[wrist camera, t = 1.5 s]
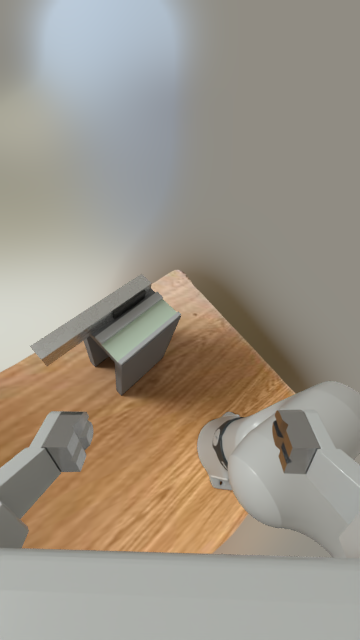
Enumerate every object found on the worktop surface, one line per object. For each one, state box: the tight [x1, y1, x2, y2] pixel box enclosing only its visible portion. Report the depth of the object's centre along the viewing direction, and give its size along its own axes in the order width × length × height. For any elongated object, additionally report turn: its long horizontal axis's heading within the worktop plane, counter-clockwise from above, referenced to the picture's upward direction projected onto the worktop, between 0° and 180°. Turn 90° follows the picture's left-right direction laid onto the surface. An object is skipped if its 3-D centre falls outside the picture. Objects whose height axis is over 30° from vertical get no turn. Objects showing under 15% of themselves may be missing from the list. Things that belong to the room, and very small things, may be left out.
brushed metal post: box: [30, 274, 152, 366], centre depth 46 cm, size 24×4×4 cm, turn 137°
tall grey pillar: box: [84, 289, 181, 396], centre depth 60 cm, size 16×13×27 cm
